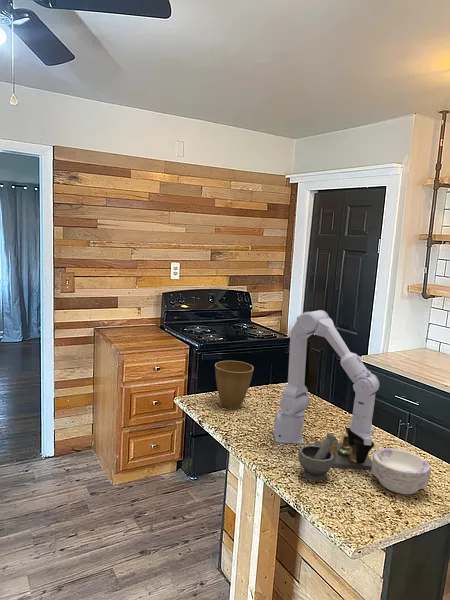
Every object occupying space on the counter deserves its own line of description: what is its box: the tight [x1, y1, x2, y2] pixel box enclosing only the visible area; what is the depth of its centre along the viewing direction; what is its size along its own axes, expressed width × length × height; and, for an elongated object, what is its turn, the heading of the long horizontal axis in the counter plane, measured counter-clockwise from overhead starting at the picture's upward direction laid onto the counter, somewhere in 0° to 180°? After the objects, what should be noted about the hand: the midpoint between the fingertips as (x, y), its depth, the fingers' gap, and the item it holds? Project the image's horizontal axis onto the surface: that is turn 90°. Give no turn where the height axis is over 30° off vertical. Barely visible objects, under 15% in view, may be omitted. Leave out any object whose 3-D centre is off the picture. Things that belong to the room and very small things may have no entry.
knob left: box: [321, 436, 339, 454], centre depth 146 cm, size 4×4×4 cm
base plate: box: [314, 440, 372, 471], centre depth 146 cm, size 15×15×2 cm
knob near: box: [348, 445, 357, 463], centre depth 142 cm, size 4×4×4 cm
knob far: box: [339, 432, 349, 450], centre depth 150 cm, size 4×4×4 cm
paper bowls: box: [370, 448, 431, 495], centre depth 131 cm, size 15×15×8 cm
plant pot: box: [214, 360, 255, 410], centre depth 180 cm, size 15×15×16 cm
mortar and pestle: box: [298, 432, 337, 483], centre depth 132 cm, size 11×9×12 cm
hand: (356, 457), depth 142 cm, fingers open, 6 cm apart
